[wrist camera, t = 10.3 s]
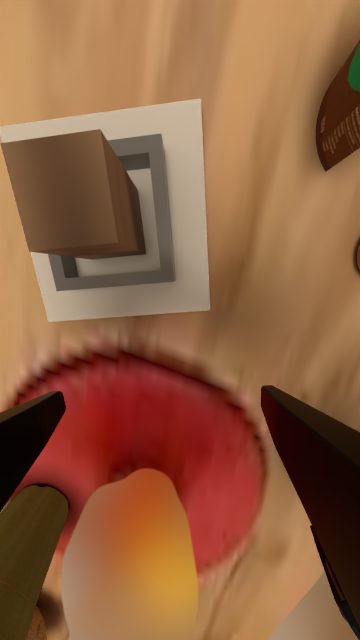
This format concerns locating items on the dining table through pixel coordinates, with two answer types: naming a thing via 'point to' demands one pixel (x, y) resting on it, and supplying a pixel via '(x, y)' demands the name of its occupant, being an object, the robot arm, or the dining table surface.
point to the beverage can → (358, 257)
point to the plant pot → (27, 554)
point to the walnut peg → (75, 196)
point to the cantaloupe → (37, 627)
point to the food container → (340, 114)
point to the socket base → (156, 211)
